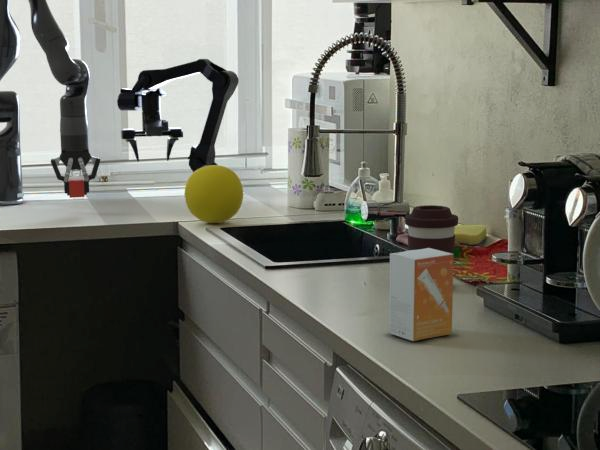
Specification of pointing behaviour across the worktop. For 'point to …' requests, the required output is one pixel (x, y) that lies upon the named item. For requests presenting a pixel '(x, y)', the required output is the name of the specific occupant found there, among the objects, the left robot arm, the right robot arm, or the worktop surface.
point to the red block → (76, 187)
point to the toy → (213, 193)
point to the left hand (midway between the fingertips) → (77, 194)
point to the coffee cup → (431, 228)
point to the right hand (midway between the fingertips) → (152, 161)
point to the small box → (421, 294)
